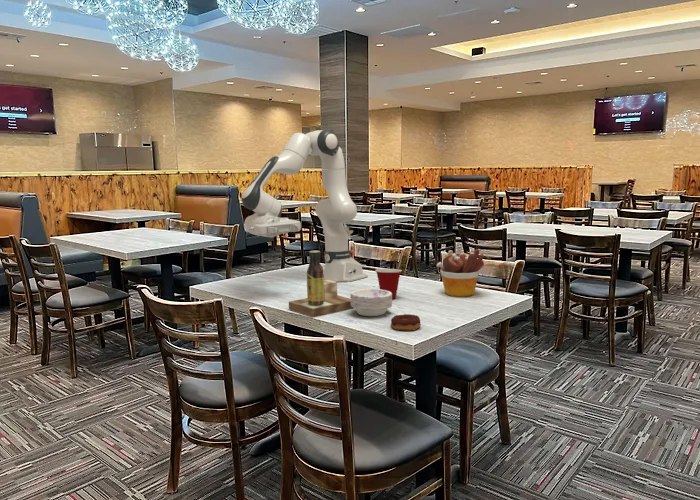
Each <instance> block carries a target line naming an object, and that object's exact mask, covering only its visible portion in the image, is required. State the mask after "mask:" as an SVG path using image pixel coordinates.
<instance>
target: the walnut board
mask: <svg viewBox="0 0 700 500" xmlns="http://www.w3.org/2000/svg"><path fill="white" fill-rule="evenodd" d="M350 299H351V297H345V296H342V295H338V294H337V297H335V298H331V299H326V300H325V299H324V303H323V304H321V305H310V304H309V303H308V297H306V298H301V299H296V300H290V301H288V310H290V311H293V312H295V313H299V314H301V315H304V316H308V317H311V318H312V319H313V318H317V317H321V316H327V315H330V314H334V313H340V312H344V311H348V310H353V309H355V308H354V307H352V306H351V301H350Z"/></svg>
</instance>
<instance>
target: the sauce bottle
mask: <svg viewBox="0 0 700 500" xmlns="http://www.w3.org/2000/svg"><path fill="white" fill-rule="evenodd" d="M308 255H309V264H308V266H307V267H308V268H307V270H306V290H307V291H306V293H307V294H306V295H307V297H306V298H308V303H309V304H310V305H321V304H323V303H324V267H323V266H322V264H321V251H320V250H309V253H308Z"/></svg>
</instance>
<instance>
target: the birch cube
mask: <svg viewBox="0 0 700 500" xmlns="http://www.w3.org/2000/svg"><path fill="white" fill-rule="evenodd" d="M337 295H338V282H334V281H330V280H324V299H325V300H326V299H331V298H335V297H337Z"/></svg>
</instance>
